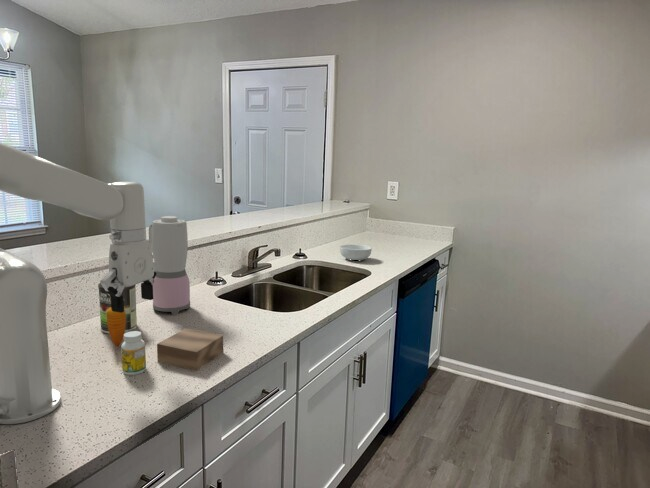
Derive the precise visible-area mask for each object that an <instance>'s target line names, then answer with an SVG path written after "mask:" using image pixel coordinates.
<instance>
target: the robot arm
mask: <svg viewBox="0 0 650 488" xmlns="http://www.w3.org/2000/svg"><path fill="white" fill-rule="evenodd" d="M0 191H1V192H4V193H7V194H10V195H13V196H17V197H20V198H24V199H28V200H32V201H33V200H34V201H38V202H43V203H47V204H51V205H55V206H58V207H61V208H64V209H68V210H71V211H73V212H75V213H76V214H78V215H80V216H84V217H89V218H92V219H95V220H99V221H100V220H101V221H109V222H110V223H109V227H110V234H109V239H110V240H111V242H110V244H109V252H108V253H109V254H108V272H107V274H105V276H103V278H101V280H100V281H99V283H101V285H102V286H103V288H104V291H105V292H107V293H108V295H110V296H111V310H112V311H114V312H120V313H122V312H124V299H123V296H122V295H121V293H122V291H123V289H124V287H125V286H126V287H129V286H133V285H135V284H136V285H137V284H140V291H141V295H140V296H141V299H142V300H147V301H148V300H149V301H153V283H154V278H155V276H156V274H157V273H156V272H157V268H158V264H157V263H154V257H153V252H152V251H151V246H150V243H149V238H147V228H146V227H147V222H146V210H145V209H146V207H145V190H144V186H143V184H141V183H139V182H137V181H117V182H115V181H114V182H111V183H109V182H108V183H107V182H104V181H102V180H99V179H97V178H94V177H91V176H89V175H86V174H83V173H81V172H79V171H76V170H73V169H70V168H68V167H65V166H62V165H60V164H56V163H54V162H53V161H50V160H47V159H45V158H42V157H39V156H37V155H34V154H32V153H29V152H27V151H23V150H21V149H18V148H16V147H13V146H11V145H8V144H6V143H3V142H0ZM110 282H111V284H110ZM136 285H135V286H136ZM117 286H119V287H118V289H117V290H116V287H117ZM47 297H48V285H47V280H46V277H45V275H44V273H43V272H42V271H41V269H40V268H39V267H38V266H37V265H36V264H34V263H32V262H31V261H29V260H26V259H24V258H22V257H19V256H17V255H15V254H14V253H11V252H9V251H7V250H5V249H3V248H1V247H0V425H16V424H23V423H28V422H31V421H35V420H38V419H40V418H43V417H45V416H46V415H49V414H51V413H52V412H54V410H56V409H57V408H58V407H59V406H60V404H61V402H62V394H61V392H60V391H59V390H56V389H55V388H52V387H53V385H52V374H51V364H50V363H51V361H50V360H51V359H50V349H49V348H50V347H49V338H48V329H47V310H46V309H47V300H48V299H47Z"/></svg>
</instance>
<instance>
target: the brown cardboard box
mask: <svg viewBox="0 0 650 488" xmlns="http://www.w3.org/2000/svg"><path fill="white" fill-rule="evenodd" d="M156 349H157V350H156V351H157V354H156V355H157V363H161V364H165V365H169V366H173V367H178V368H182V369H187V370H192V371H195V372H198V371H200V369H202V368H203V367H205V366H206V365H208V364H209V363H210V362H211V361H214V360H215V359H216V358H217V357H219V356H220V355H221V354H223V353H224V334H220V333H219V334H218V333H213V332H208V331H203V330H199V329H193V328H187V327H185V328H184V329H182V330H180V331H178V332H177V333H174V334H173V335H171V336H169V337H168V338H165V339H164V340H161V341H159V342H158V343H157V344H156Z"/></svg>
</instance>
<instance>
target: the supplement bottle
mask: <svg viewBox="0 0 650 488" xmlns="http://www.w3.org/2000/svg"><path fill="white" fill-rule="evenodd" d="M142 338H143V337H142V332H141V331H139V330H132V331H129V332H126V333H124V337H123V341H122V342H121V344H120V346H121V347H120V348H121V349H120V350H121V363H122V368H121V369H122V372H123V374H124V375H126V376H135V375H139V374H142V373H143V372H145V371H146V368H147V359H146V342H145V341H144V340H143V339H142Z"/></svg>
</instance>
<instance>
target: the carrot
mask: <svg viewBox="0 0 650 488" xmlns="http://www.w3.org/2000/svg"><path fill="white" fill-rule="evenodd" d="M123 299H124V298H123ZM110 300H111V297H110ZM106 314H107V324H108V330H109V337H110V339H111V341H112V343H113V344H114V346H115V347H116V348H119V347H120V346H121V345H122V343H123V341H124V334H125V333H124V332H125V322H126V317H125V309H124V312H122V313H120V312H114V311H112V310H111V308H109V309H107V311H106Z"/></svg>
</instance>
